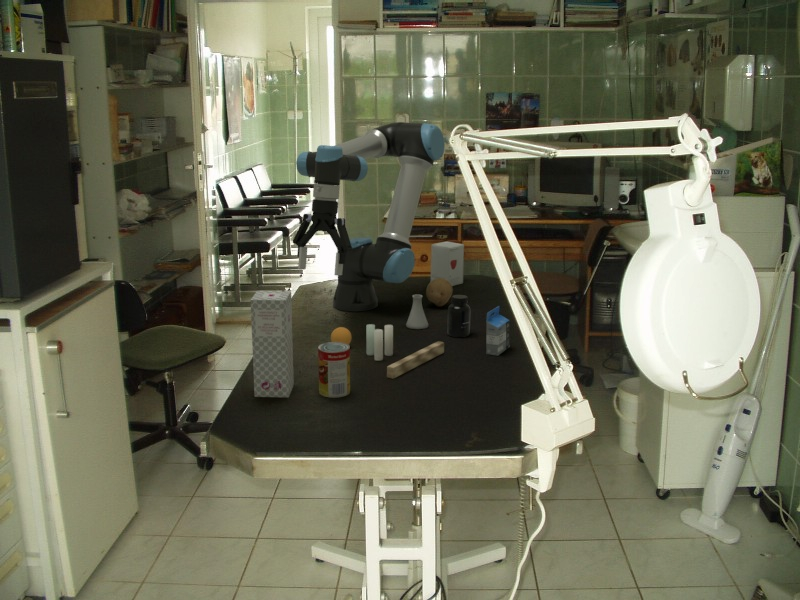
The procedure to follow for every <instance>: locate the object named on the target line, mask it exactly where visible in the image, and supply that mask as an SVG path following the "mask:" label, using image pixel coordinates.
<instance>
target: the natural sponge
mask: <svg viewBox="0 0 800 600" xmlns="http://www.w3.org/2000/svg"><path fill="white" fill-rule="evenodd" d="M453 291H454V289H453V286H452V285H451V284H450V283H449V281H448V280H446V279H443V278H436V279H434V280H432V281H431V280H430V281H429V283H428V284H427V286H426V289H425V295H426V299H428V301H430V302H431V303H433V304H434V305H435V307H436V306H437V307H438V308H439V307H443V306H445V305H446V304H447V303H448V302H449V300H450V298H452V296H453Z"/></svg>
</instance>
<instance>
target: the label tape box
mask: <svg viewBox="0 0 800 600" xmlns="http://www.w3.org/2000/svg"><path fill="white" fill-rule="evenodd" d="M500 307H501V306H500V305H498V306H496V307H494V308H493V309H491V310H490V311H488V312H487V313H486V336H485V337H486V339H485V340H486V345H485V346H486V347H485V348H486V351H485V353H486V355H491V356H498V357H499V356H500V355H501V354H502V353H504V352H505V351H506V350H508V349H509V348H510V346H511V345H510V344H511V343H510V342H511V339H510V337H511V330H510V329H511V327H510V326H511V324H510V323H511V321H510V319H508V318H506V317H505V316H503V315H501V314H500V313H499V312H500Z"/></svg>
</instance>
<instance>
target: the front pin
mask: <svg viewBox="0 0 800 600" xmlns="http://www.w3.org/2000/svg"><path fill="white" fill-rule="evenodd" d="M365 328H366V330H365V331H366V336H365V337H366V345H365V347H366V349H365V350H366V355H367V356H374V330H375V329H376V325H375V324H374V323H371V324H370V323H369V324H366V327H365Z"/></svg>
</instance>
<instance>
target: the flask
mask: <svg viewBox="0 0 800 600" xmlns="http://www.w3.org/2000/svg"><path fill="white" fill-rule="evenodd" d="M411 296H412V306H411V310H410V312H409V316H408V317H407V318H408V319H407V321H406V324H405V327H406V328H407V329H412V330H413V329H414V330H421V329H423V330H424V329H427V328H428V327H429V323H428V320H427V316H426V314H425V311H424V308H423V304H422V299H423V297H424V296H423V295H422V294H412V295H411Z"/></svg>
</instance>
